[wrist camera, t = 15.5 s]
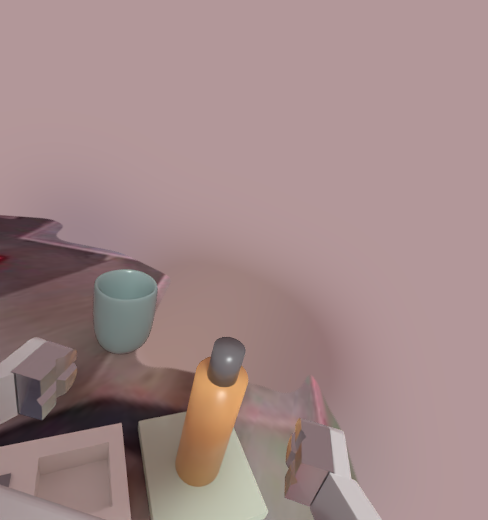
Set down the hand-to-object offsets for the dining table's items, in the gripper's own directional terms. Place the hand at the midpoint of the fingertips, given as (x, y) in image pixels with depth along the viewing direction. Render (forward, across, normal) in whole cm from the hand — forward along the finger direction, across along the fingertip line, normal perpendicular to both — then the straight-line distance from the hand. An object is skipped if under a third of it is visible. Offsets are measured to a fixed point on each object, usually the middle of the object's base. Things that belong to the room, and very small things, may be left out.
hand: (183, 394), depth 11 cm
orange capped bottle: (+12, -1, +23) cm, 26 cm away
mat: (+12, -1, +24) cm, 27 cm away
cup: (+26, +15, +24) cm, 39 cm away
